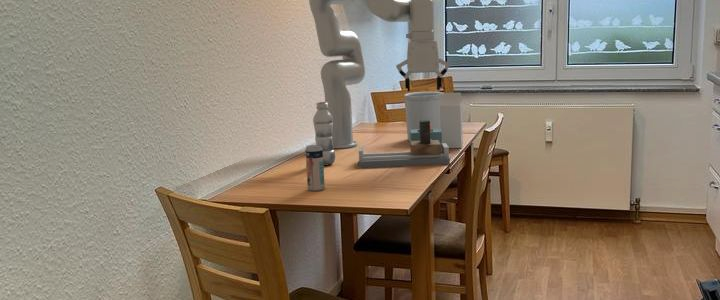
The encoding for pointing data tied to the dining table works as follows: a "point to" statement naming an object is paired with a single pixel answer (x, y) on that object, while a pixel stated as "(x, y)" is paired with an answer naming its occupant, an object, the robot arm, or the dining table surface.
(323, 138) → the plastic bottle
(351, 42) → the robot arm
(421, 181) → the dining table surface
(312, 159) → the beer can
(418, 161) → the rail board
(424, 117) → the utensil holder
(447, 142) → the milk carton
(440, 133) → the cabinet
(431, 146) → the carriage
